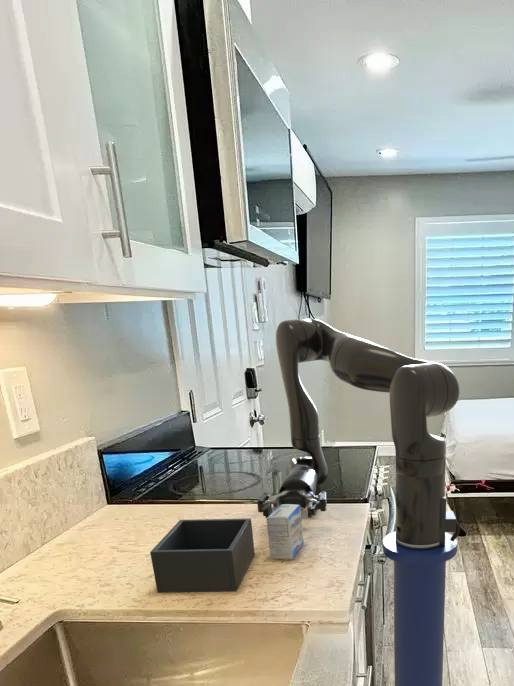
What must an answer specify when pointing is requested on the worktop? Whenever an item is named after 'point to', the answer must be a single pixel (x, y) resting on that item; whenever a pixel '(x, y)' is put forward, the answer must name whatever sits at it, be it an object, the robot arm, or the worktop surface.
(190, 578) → the storage bin
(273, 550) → the medicine box
